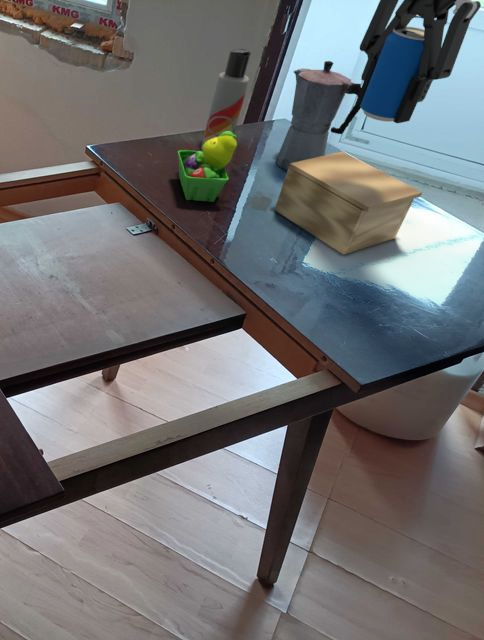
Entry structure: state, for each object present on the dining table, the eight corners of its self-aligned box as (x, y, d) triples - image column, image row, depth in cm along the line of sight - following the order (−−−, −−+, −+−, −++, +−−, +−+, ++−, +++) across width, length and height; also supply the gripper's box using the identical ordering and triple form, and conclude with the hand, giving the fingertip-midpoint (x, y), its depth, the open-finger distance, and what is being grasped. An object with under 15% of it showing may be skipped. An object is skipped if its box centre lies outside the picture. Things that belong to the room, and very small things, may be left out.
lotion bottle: (215, 159, 137) (243, 56, 124) (194, 149, 140) (219, 47, 127) (234, 153, 139) (263, 51, 126) (213, 143, 143) (239, 42, 130)
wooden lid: (420, 196, 110) (422, 192, 109) (367, 212, 105) (369, 207, 104) (340, 155, 120) (342, 151, 120) (288, 167, 115) (290, 163, 115)
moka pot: (281, 146, 143) (313, 47, 130) (347, 175, 135) (389, 72, 122) (254, 157, 139) (284, 55, 125) (321, 188, 130) (361, 82, 117)
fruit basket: (171, 174, 131) (184, 116, 123) (217, 177, 131) (233, 120, 123) (179, 203, 122) (193, 143, 115) (229, 207, 122) (246, 147, 115)
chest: (393, 242, 116) (415, 195, 110) (341, 258, 111) (362, 210, 105) (323, 200, 126) (340, 155, 120) (272, 213, 121) (288, 167, 115)
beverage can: (381, 105, 108) (414, 24, 100) (412, 121, 104) (449, 38, 96) (349, 108, 106) (380, 26, 98) (379, 125, 102) (414, 40, 94)
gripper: (373, -74, 94) (316, 92, 110) (504, -42, 82) (419, 141, 97) (409, -76, 97) (348, 87, 113) (541, -45, 85) (453, 133, 100)
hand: (381, 112), depth 105 cm, fingers closed on beverage can, 6 cm apart
